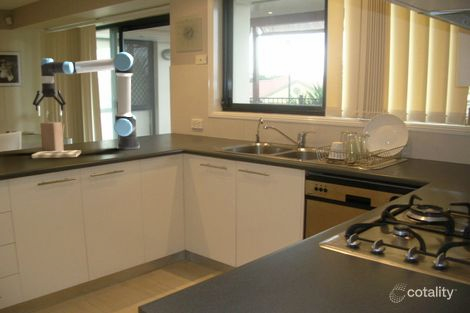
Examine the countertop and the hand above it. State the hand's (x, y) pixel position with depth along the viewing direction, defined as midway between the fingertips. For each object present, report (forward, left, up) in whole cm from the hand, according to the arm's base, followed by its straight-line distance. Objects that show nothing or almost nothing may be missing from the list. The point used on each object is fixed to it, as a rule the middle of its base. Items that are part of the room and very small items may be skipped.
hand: (50, 115), depth 297 cm
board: (-6, +15, -24) cm, 29 cm away
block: (0, 0, -25) cm, 25 cm away
